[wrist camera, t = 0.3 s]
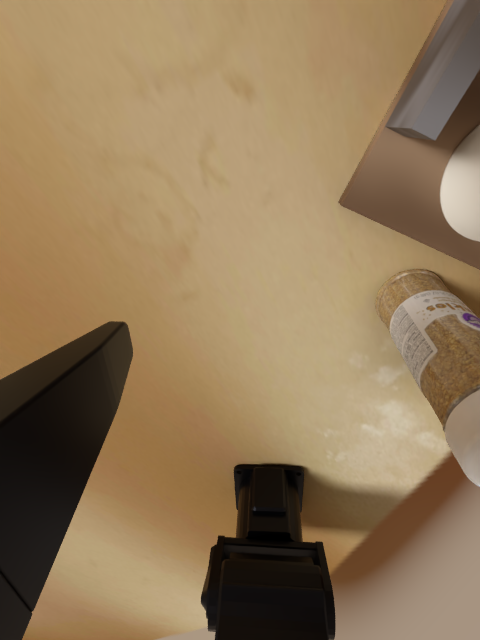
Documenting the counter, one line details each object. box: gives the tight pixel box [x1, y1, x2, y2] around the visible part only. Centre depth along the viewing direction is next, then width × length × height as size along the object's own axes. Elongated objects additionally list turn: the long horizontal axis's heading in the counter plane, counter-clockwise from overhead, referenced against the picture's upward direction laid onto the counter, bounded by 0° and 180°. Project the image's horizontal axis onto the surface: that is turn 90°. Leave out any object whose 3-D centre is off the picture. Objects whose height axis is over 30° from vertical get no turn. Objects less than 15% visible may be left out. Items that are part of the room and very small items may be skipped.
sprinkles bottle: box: [376, 269, 480, 487], centre depth 19 cm, size 5×5×14 cm
